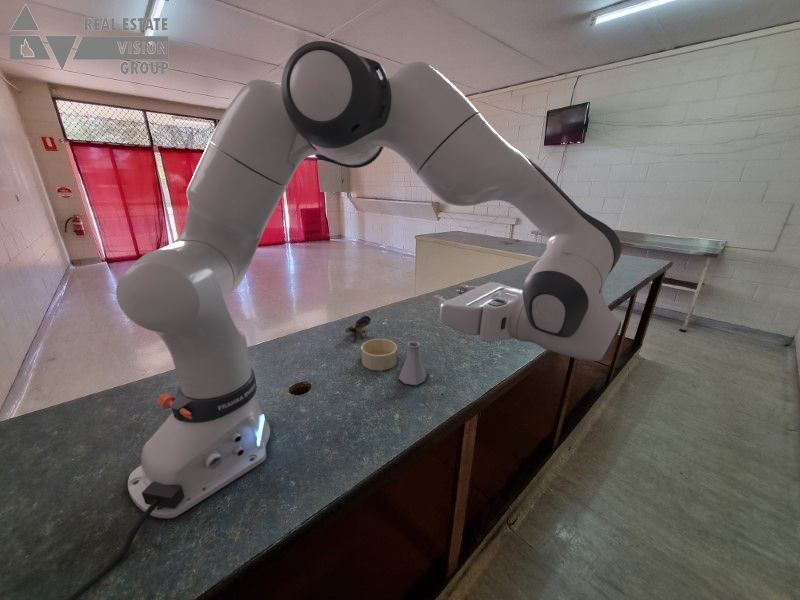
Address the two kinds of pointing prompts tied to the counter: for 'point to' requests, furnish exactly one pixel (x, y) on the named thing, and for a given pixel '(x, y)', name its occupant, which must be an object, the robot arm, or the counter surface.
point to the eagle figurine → (359, 327)
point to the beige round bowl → (379, 354)
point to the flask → (413, 366)
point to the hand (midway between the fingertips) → (446, 293)
